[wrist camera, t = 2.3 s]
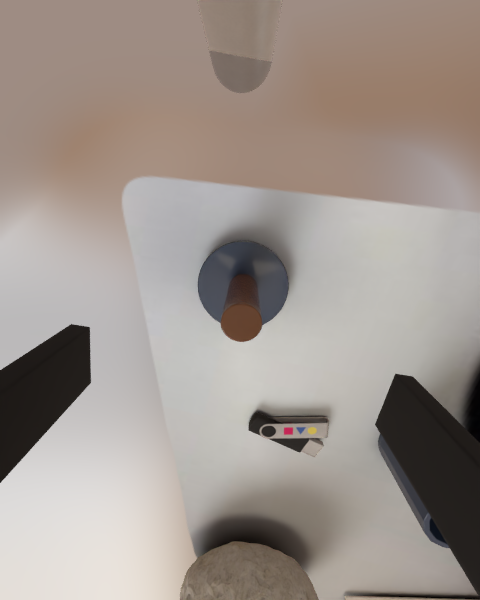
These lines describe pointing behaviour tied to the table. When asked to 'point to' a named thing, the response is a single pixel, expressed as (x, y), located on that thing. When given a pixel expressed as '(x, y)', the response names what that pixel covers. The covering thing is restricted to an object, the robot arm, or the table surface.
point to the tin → (411, 496)
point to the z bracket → (394, 598)
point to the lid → (243, 288)
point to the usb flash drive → (292, 431)
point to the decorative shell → (246, 575)
